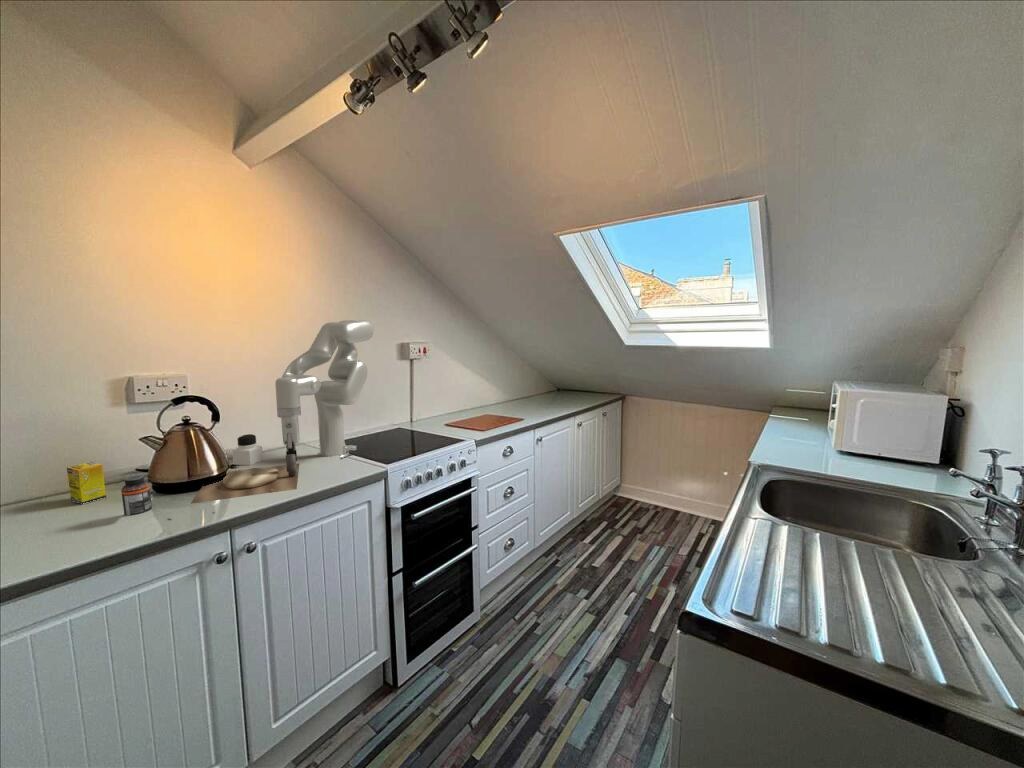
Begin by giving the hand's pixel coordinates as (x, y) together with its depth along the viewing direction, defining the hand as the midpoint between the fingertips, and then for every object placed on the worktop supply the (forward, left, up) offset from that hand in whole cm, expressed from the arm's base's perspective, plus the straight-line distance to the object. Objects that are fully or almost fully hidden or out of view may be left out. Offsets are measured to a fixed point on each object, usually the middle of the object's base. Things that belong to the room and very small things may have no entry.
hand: (291, 461), depth 153 cm
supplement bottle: (+38, +21, -5) cm, 43 cm away
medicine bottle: (+16, -17, -5) cm, 24 cm away
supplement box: (+56, +1, -5) cm, 56 cm away
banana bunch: (+9, +7, -3) cm, 12 cm away
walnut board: (+12, +7, -5) cm, 14 cm away
